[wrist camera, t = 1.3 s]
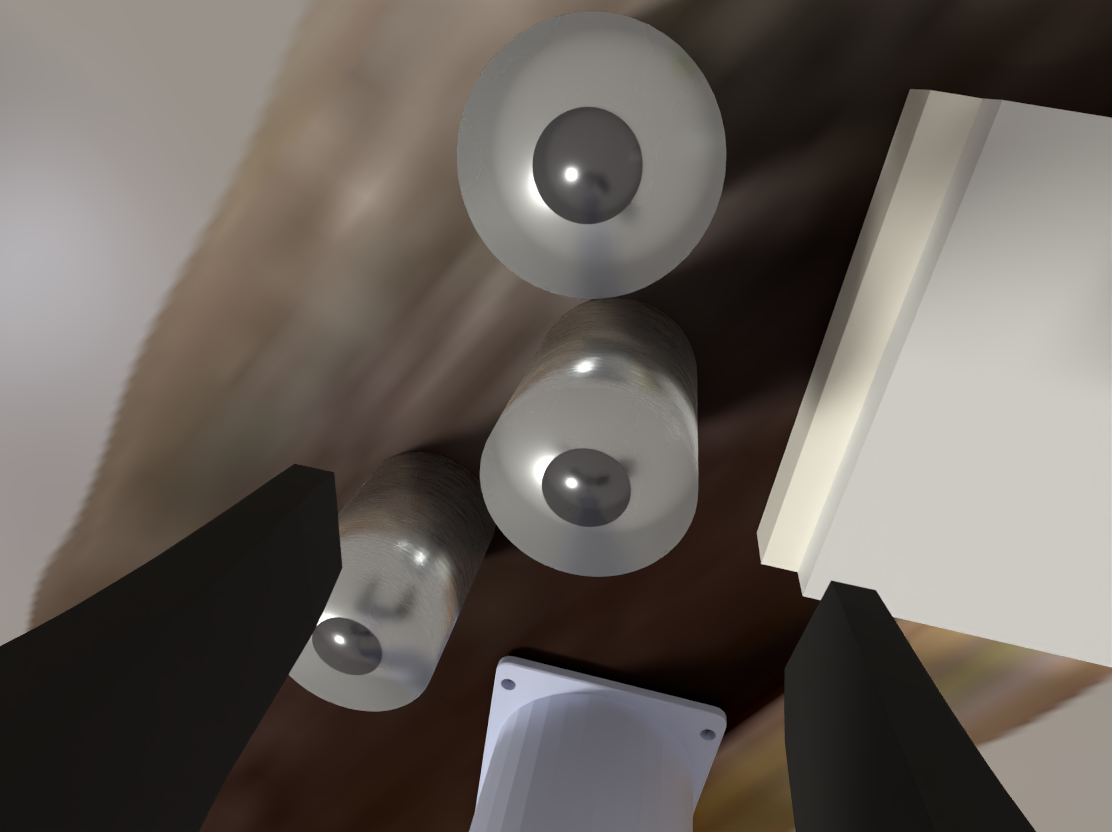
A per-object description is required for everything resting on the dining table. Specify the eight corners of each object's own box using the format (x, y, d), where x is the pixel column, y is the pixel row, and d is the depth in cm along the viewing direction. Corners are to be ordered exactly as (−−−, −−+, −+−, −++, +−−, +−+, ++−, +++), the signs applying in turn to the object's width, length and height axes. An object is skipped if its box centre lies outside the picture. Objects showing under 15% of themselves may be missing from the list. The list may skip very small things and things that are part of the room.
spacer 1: (488, 580, 23) (426, 730, 18) (363, 550, 24) (266, 688, 18) (502, 468, 21) (439, 600, 16) (366, 438, 22) (258, 556, 16)
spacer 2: (691, 247, 17) (689, 321, 12) (520, 214, 18) (446, 273, 12) (737, 50, 15) (760, 36, 10) (544, 19, 16) (468, -11, 10)
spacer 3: (676, 459, 20) (670, 598, 15) (528, 427, 20) (470, 551, 15) (714, 315, 18) (723, 415, 13) (549, 282, 18) (490, 366, 13)
